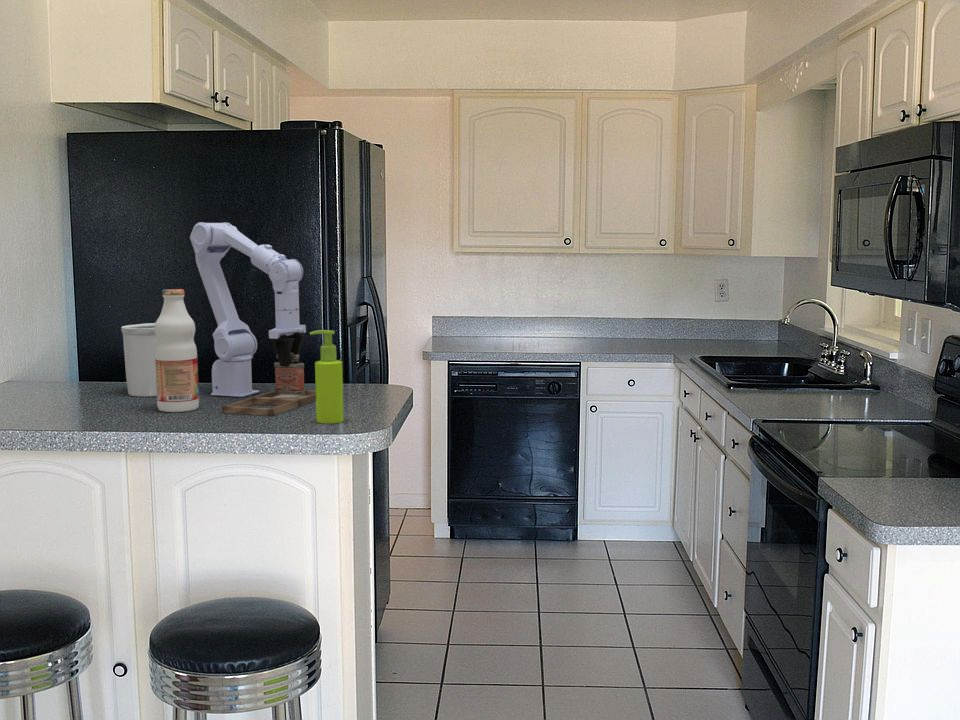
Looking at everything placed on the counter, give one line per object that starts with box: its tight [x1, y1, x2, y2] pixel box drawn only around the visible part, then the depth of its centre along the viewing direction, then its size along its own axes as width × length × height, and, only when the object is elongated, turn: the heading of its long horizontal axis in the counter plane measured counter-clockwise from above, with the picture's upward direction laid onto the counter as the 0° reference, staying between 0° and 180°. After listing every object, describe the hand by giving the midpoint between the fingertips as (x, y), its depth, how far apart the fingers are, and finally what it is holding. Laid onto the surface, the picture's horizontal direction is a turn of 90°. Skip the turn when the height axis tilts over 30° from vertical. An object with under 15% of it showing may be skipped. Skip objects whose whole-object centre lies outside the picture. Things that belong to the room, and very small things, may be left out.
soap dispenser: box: [309, 329, 344, 424], centre depth 215 cm, size 6×7×20 cm
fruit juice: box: [154, 288, 200, 413], centre depth 229 cm, size 9×9×28 cm
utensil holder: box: [120, 322, 157, 398], centre depth 253 cm, size 15×15×18 cm
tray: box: [221, 389, 316, 417], centre depth 236 cm, size 13×26×2 cm, turn 161°
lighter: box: [273, 353, 306, 395], centre depth 242 cm, size 8×3×10 cm, turn 68°
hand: (288, 365), depth 241 cm, fingers closed on lighter, 3 cm apart
